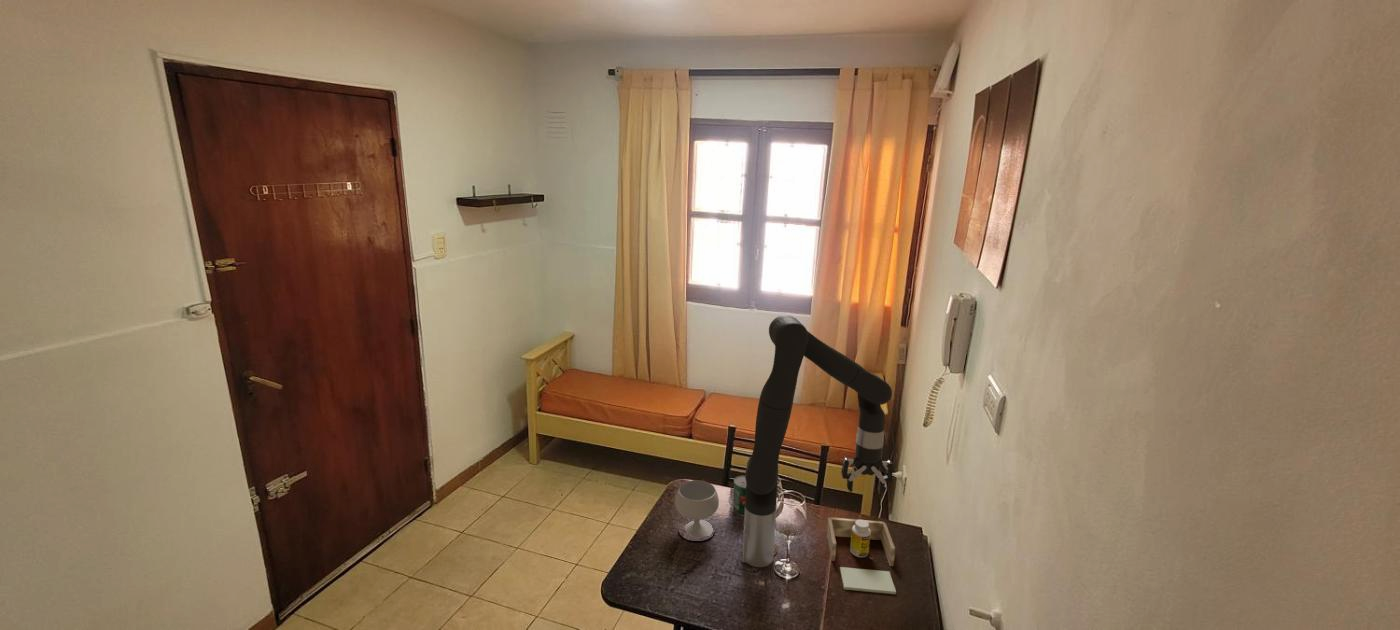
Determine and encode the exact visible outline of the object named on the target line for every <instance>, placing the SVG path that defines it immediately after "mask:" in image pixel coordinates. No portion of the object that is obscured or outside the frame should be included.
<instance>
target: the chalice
mask: <svg viewBox="0 0 1400 630" xmlns="http://www.w3.org/2000/svg"><path fill="white" fill-rule="evenodd" d="M676 492H677V493H676V495H675V500H674V501H675V502H674V504H675V508H676V510H677V512H678V513H680V515H681V516H683V517H684V518H686V519H688V520H689V519H693V520H694V521H691V522H689V523H688V524H686V526H685V531H686V532H687V533H688V532H689V533H690V534H691V535H693V536H695V537H697V536H698V537H704V536H705V537H706V536H710V535H711V534H712V532H713V528H712V525H711V524H710V523H711V522H710V521H709V522H710V523H709V522H707V521H708V520H707V521H705V520H706V519H708V518H710V517H712V516H714V514H715V513H716V512H717V510H718V508H719V503H720V502H719V501H720V499H719V495H718V492H717V490H716V487H715V486H714V485H713V484H711V483H710V482H708V481H705V480H701V479H699V480H698V479H696V480H695V479H694V480H688V481H686V482H684V483H682V484H681V485H680V486H679V488H678V490H677V491H676ZM702 519H704V520H702Z"/></svg>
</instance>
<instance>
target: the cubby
mask: <svg viewBox="0 0 1400 630" xmlns="http://www.w3.org/2000/svg"><path fill="white" fill-rule="evenodd" d="M856 520H858V519H856V518H853V519H852V518H841V517H831V516H828V517H827V520H826V522H827V523H826V538H827V544H828V549H829V554H830V555H829V556H830V560H831V561H833V562H835V561H836V553H837V552H836V551H837V541H836V537H841V538H851V534H852V527H853V526H854V525H855V522H856ZM864 520H865V519H864ZM865 521H867V522H868V524H869V529H870V531H871V536H870V540H874V541H875V540H876V541H878V540H879V541H881V545H882V547H883V550H884V553H885V556H886V559H887V562H888V564H889V566H890V567H894V563H895V555H896V552H895V551H896V547H895V544H894V541H893V539H892V535H891V534H890V530H889V529H888V526H887V523H886V521H880V520H865Z"/></svg>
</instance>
